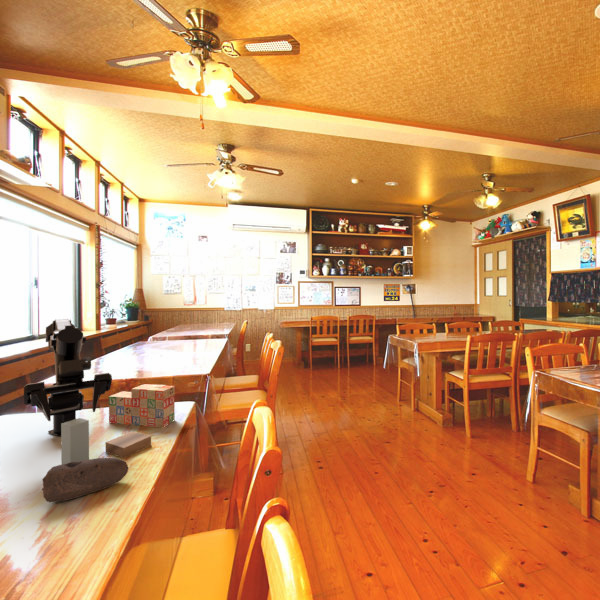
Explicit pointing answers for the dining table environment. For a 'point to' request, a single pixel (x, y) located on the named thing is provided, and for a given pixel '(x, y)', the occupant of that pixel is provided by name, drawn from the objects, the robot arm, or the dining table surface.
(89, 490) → the perforated stone tool
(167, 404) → the stack of blocks
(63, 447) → the column
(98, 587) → the dining table surface
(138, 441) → the base block
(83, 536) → the dining table surface
